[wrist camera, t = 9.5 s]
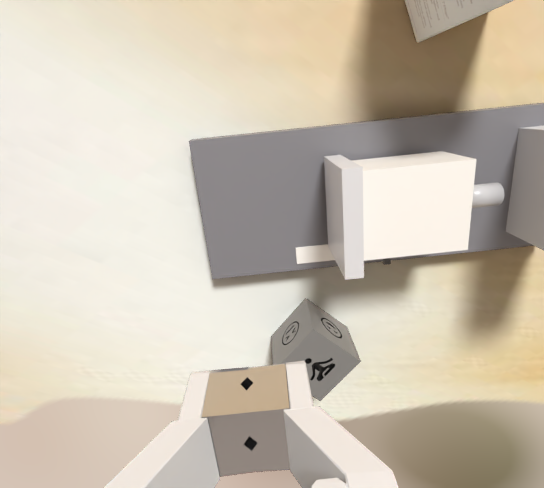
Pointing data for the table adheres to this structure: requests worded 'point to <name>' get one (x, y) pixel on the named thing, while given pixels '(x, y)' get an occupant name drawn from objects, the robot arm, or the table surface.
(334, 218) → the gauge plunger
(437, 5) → the small box
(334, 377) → the dice cube
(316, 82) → the table surface
